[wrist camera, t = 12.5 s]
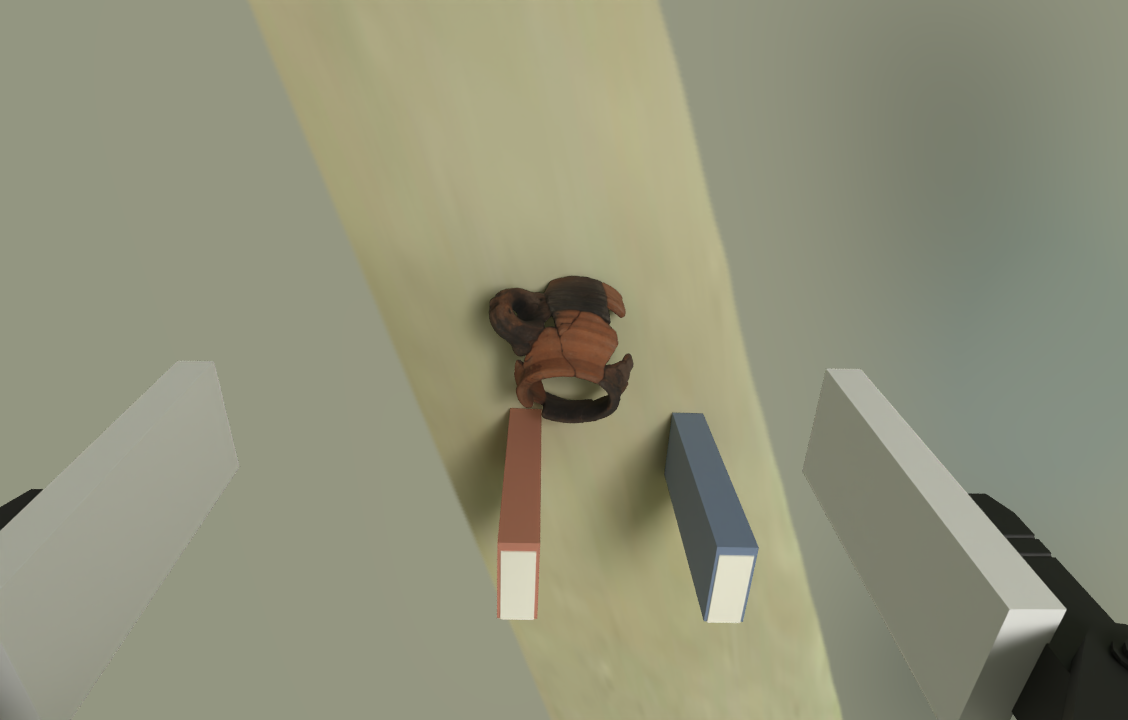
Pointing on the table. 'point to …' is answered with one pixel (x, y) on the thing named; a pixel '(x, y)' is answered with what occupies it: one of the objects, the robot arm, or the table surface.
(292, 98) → the table surface
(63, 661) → the robot arm
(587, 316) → the pottery mug
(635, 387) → the table surface
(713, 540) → the navy book
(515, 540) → the brick red book
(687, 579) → the table surface
